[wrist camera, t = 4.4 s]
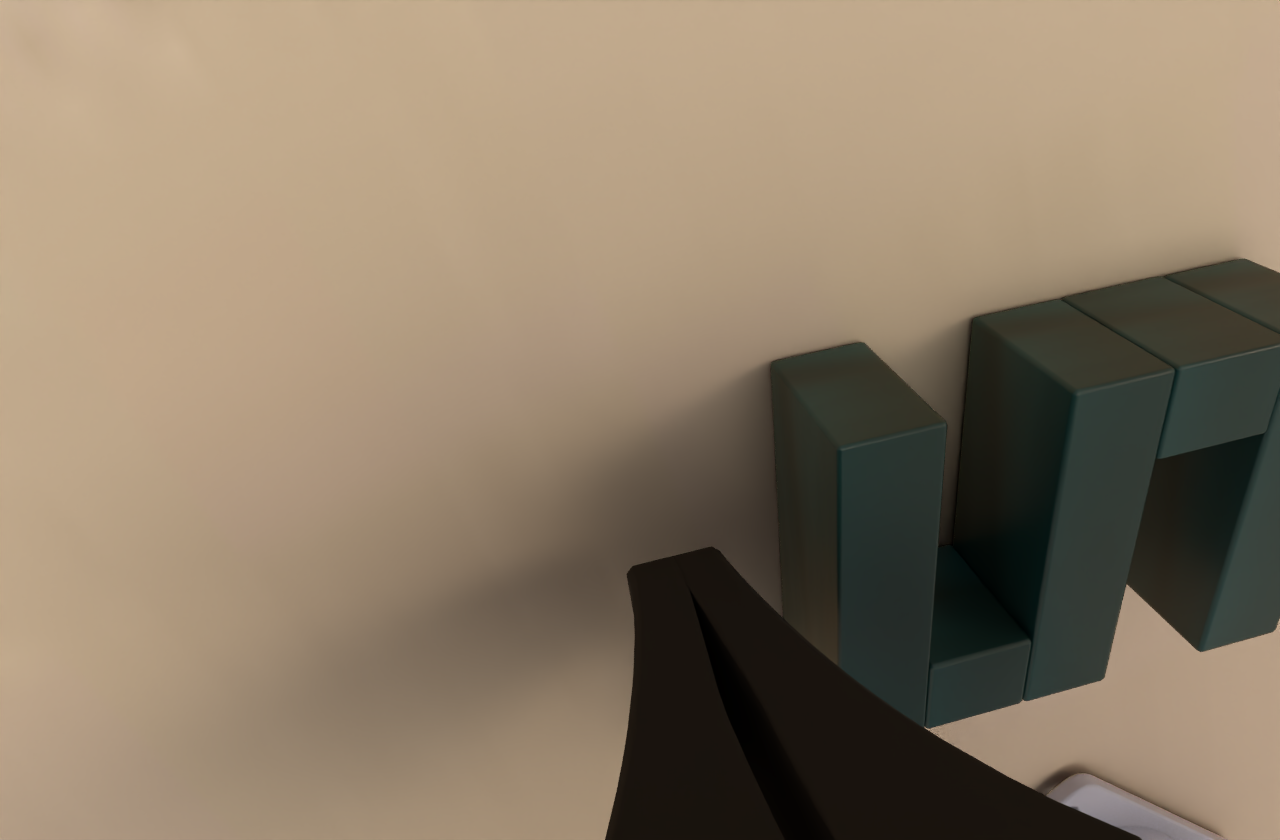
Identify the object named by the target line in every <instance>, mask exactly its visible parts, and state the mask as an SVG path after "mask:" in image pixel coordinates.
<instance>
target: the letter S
mask: <svg viewBox="0 0 1280 840" xmlns="http://www.w3.org/2000/svg"><path fill="white" fill-rule="evenodd" d="M771 383H772V402H773V422H774V442H775V462H776V482H777V502H778V522H779V542H780V562H781V581H782V601H783V618H784V619H785V620H786V621H787V622H788V623H789V624H790V625H791V626H792V627H793V628H794V629H796V630H797V631H798V632H799V633H800V634H801V635H802V636H803V637H804V638H805V639H807V640H808V641H809V642H810V643H811V644H812V645H813V646H815V647H816V648H817V649H818V650H819V651H820V652H822V653H823V654H824V655H825V656H826V657H828V658H829V659H830V660H831V661H833V662H834V663H835V664H836V665H837V666H839V667H840V668H841V669H842V670H844V671H845V672H846V673H847V674H849V675H850V676H851V677H852V678H854V679H855V680H856V681H858V682H859V683H860V684H862V685H863V686H864V687H866V688H867V689H868V690H870V691H871V692H872V693H874V694H875V695H876V696H878V697H879V698H881V699H882V700H883V701H885V702H886V703H888V704H889V705H891V706H892V707H893V708H895V709H896V710H898V711H899V712H901V713H902V714H904V715H905V716H907V717H908V718H910V719H911V720H913V721H914V722H916V723H917V724H919V725H920V726H922V727H924V726H925V727H926V728H933V727H936V726H940V725H943V724H947V723H951V722H954V721H958V720H961V719H965V718H968V717H972V716H976V715H979V714H983V713H986V712H990V711H993V710H997V709H1000V708H1004V707H1008V706H1011V705H1015V704H1018V703H1020V702H1021V701H1022V699H1023V700H1024V701H1030V700H1033V699H1037V698H1040V697H1044V696H1047V695H1051V694H1055V693H1058V692H1062V691H1065V690H1069V689H1072V688H1076V687H1079V686H1083V685H1087V684H1090V683H1094V682H1097V681H1101V680H1102V679H1104V677H1105V673H1106V669H1107V665H1108V660H1109V656H1110V652H1111V647H1112V643H1113V639H1114V635H1115V630H1116V626H1117V622H1118V617H1119V613H1120V609H1121V605H1122V600H1123V596H1124V592H1125V587H1126V584H1127V585H1129V586H1130V587H1131V588H1132V589H1133V590H1134V591H1135V592H1136V593H1137V594H1138V595H1139V596H1140V597H1141V598H1142V599H1143V600H1144V601H1145V602H1147V603H1148V604H1149V605H1150V606H1151V607H1152V608H1153V609H1154V610H1155V611H1156V612H1157V613H1158V614H1159V615H1160V616H1161V617H1162V618H1163V619H1165V620H1166V621H1167V622H1168V623H1169V624H1170V625H1171V626H1172V627H1173V628H1174V629H1175V630H1176V631H1177V632H1178V633H1179V634H1180V635H1181V636H1182V637H1184V638H1185V639H1186V640H1187V641H1188V642H1189V643H1190V644H1191V645H1192V646H1193V647H1194V648H1195V649H1196V650H1198V651H1200V652H1204V651H1207V650H1211V649H1214V648H1218V647H1221V646H1225V645H1229V644H1232V643H1236V642H1239V641H1243V640H1246V639H1250V638H1254V637H1257V636H1261V635H1264V634H1268V633H1271V632H1273V631H1274V630H1275V629H1276V627H1277V624H1278V621H1279V619H1280V273H1279V272H1276V271H1274V270H1271V269H1269V268H1267V267H1264V266H1262V265H1259V264H1257V263H1255V262H1252V261H1250V260H1247V259H1239V260H1234V261H1230V262H1225V263H1221V264H1216V265H1212V266H1207V267H1203V268H1198V269H1194V270H1189V271H1184V272H1180V273H1175V274H1171V275H1166V276H1165V277H1164V278H1163V277H1154V278H1150V279H1145V280H1141V281H1136V282H1132V283H1127V284H1123V285H1118V286H1114V287H1109V288H1104V289H1100V290H1095V291H1091V292H1086V293H1082V294H1077V295H1073V296H1068V297H1064V298H1062V300H1052V301H1048V302H1043V303H1038V304H1034V305H1029V306H1025V307H1020V308H1016V309H1011V310H1007V311H1002V312H998V313H993V314H988V315H984V316H979V317H976V318H974V319H973V322H972V333H971V344H970V356H969V367H968V379H967V390H966V401H965V413H964V424H963V436H962V447H961V459H960V470H959V481H958V493H957V504H956V516H955V527H954V538H953V546H951V545H945V546H941V547H938V540H939V527H940V514H941V501H942V487H943V474H944V461H945V448H946V435H947V423H946V421H945V420H944V419H943V418H942V417H941V416H940V415H939V414H938V413H937V412H936V411H934V410H933V409H932V408H931V407H930V406H929V405H928V404H927V403H926V402H925V401H924V400H923V399H922V398H921V397H920V396H919V395H918V394H917V393H916V392H915V391H914V390H913V389H912V388H911V387H910V386H909V385H907V384H906V383H905V382H904V381H903V380H902V379H901V378H900V377H899V376H898V375H897V374H896V373H895V372H894V371H893V370H892V369H891V368H890V367H889V366H888V365H887V364H886V363H885V362H884V361H883V360H881V359H880V358H879V357H878V356H877V355H876V354H875V353H874V352H873V351H872V350H871V349H870V348H869V347H868V346H867V345H866V344H865V343H862V342H859V343H855V344H850V345H846V346H841V347H837V348H832V349H828V350H823V351H819V352H814V353H809V354H805V355H800V356H796V357H791V358H787V359H782V360H778V361H773V362H772V363H771Z"/></svg>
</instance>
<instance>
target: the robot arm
mask: <svg viewBox="0 0 1280 840" xmlns="http://www.w3.org/2000/svg"><path fill="white" fill-rule="evenodd" d="M627 579H628V585H629V590H630V596H631V601H632V607H633V612H634V626H635V646H634V674H633V687H632V696H631V705H630V713H629V722H628V730H627V737H626V744H625V750H624V756H623V761H622V767H621V772H620V777H619V782H618V787H617V792H616V797H615V801H614V805H613V809H612V813H611V817H610V822H609V826H608V830H607V834H606V838H605V840H1227V839H1225V838H1223V837H1221V836H1219V835H1217V834H1215V833H1213V832H1210V831H1208V830H1206V829H1204V828H1202V827H1200V826H1198V825H1196V824H1194V823H1192V822H1189V821H1187V820H1185V819H1183V818H1181V817H1179V816H1177V815H1175V814H1173V813H1171V812H1168V811H1166V810H1164V809H1162V808H1160V807H1158V806H1156V805H1154V804H1152V803H1149V802H1147V801H1145V800H1143V799H1141V798H1139V797H1137V796H1135V795H1133V794H1131V793H1128V792H1126V791H1124V790H1122V789H1120V788H1118V787H1116V786H1114V785H1112V784H1110V783H1107V782H1105V781H1103V780H1101V779H1099V778H1097V777H1095V776H1093V775H1091V774H1086V773H1079V774H1075V775H1072V776H1070V777H1068V778H1067V779H1065V780H1064V781H1062V782H1061V783H1060V784H1059V785H1058V786H1056V787H1055V788H1054V789H1053V790H1052V791H1051V792H1049V793H1048V794H1047V795H1046V796H1045V795H1043V794H1041V793H1039V792H1037V791H1035V790H1033V789H1031V788H1029V787H1027V786H1025V785H1023V784H1021V783H1019V782H1017V781H1015V780H1013V779H1011V778H1009V777H1007V776H1006V775H1004V774H1002V773H1000V772H999V771H997V770H995V769H993V768H992V767H990V766H988V765H986V764H985V763H983V762H981V761H979V760H978V759H976V758H974V757H972V756H970V755H969V754H967V753H965V752H963V751H962V750H960V749H958V748H956V747H955V746H953V745H951V744H949V743H948V742H946V741H944V740H942V739H941V738H939V737H938V736H936V735H934V734H933V733H931V732H930V731H928V730H927V729H925V728H924V727H922V726H920V725H919V724H917V723H916V722H914V721H913V720H911V719H910V718H908V717H907V716H905V715H904V714H902V713H901V712H899V711H898V710H896V709H895V708H893V707H892V706H891V705H889V704H888V703H886V702H885V701H883V700H882V699H881V698H879V697H878V696H876V695H875V694H874V693H872V692H871V691H870V690H868V689H867V688H866V687H864V686H863V685H862V684H860V683H859V682H858V681H856V680H855V679H854V678H852V677H851V676H850V675H849V674H847V673H846V672H845V671H844V670H842V669H841V668H840V667H839V666H837V665H836V664H835V663H834V662H833V661H831V660H830V659H829V658H828V657H826V656H825V655H824V654H823V653H822V652H820V651H819V650H818V649H817V648H816V647H815V646H813V645H812V644H811V643H810V642H809V641H808V640H807V639H805V638H804V637H803V636H802V635H801V634H800V633H799V632H798V631H797V630H796V629H794V628H793V627H792V626H791V625H790V624H789V623H788V622H787V621H786V620H785V619H784V618H782V617H781V616H780V615H779V614H778V613H777V612H776V611H775V610H774V609H773V608H772V607H771V606H770V605H769V604H768V603H767V602H766V601H765V600H764V599H763V598H762V597H761V596H760V595H759V594H758V593H757V592H756V591H755V590H754V589H753V588H752V587H751V586H750V585H749V584H748V583H747V582H746V581H745V579H744V578H743V577H742V576H741V575H740V574H739V573H738V572H737V571H736V570H735V569H734V567H733V566H732V565H731V564H730V563H729V562H728V561H727V559H726V558H725V557H724V556H723V555H722V553H721V552H720V551H719V550H717V549H715V548H714V547H708V548H704V549H700V550H696V551H692V552H688V553H684V554H680V555H676V556H671V557H667V558H663V559H659V560H655V561H651V562H647V563H643V564H639V565H635V566H633V567H632V568H631V569H630V570H629V571H628V573H627Z"/></svg>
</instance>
